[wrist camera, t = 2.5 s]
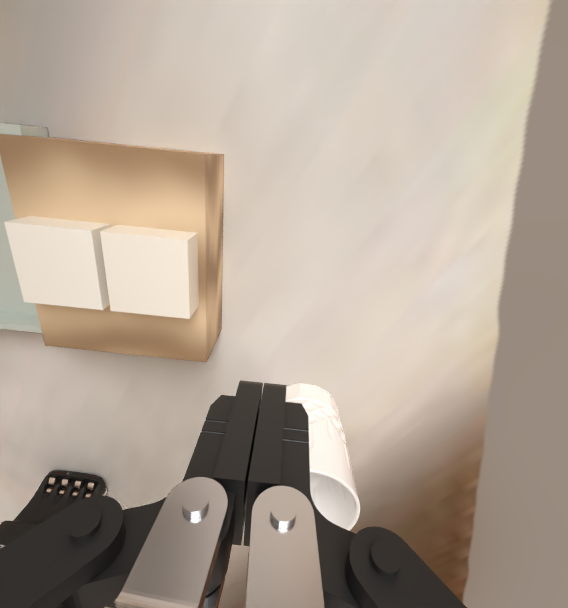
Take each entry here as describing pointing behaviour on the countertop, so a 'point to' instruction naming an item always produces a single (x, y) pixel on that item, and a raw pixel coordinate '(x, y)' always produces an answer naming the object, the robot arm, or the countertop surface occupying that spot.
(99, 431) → the countertop surface
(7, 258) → the tray
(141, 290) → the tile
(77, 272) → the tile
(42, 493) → the battery charger
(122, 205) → the tan flat block
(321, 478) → the white cup
